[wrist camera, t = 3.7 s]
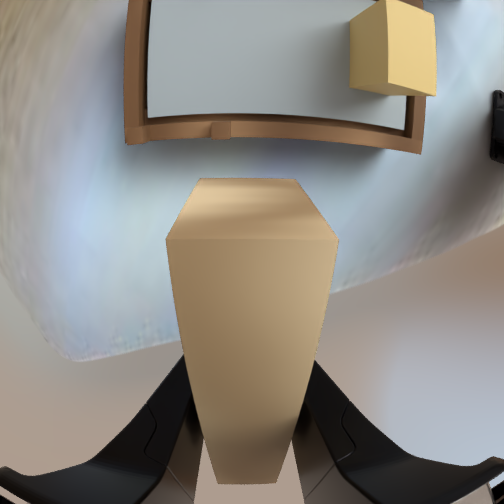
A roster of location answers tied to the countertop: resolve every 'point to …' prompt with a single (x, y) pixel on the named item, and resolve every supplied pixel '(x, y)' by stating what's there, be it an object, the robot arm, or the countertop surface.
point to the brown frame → (246, 123)
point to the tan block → (250, 314)
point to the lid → (290, 58)
